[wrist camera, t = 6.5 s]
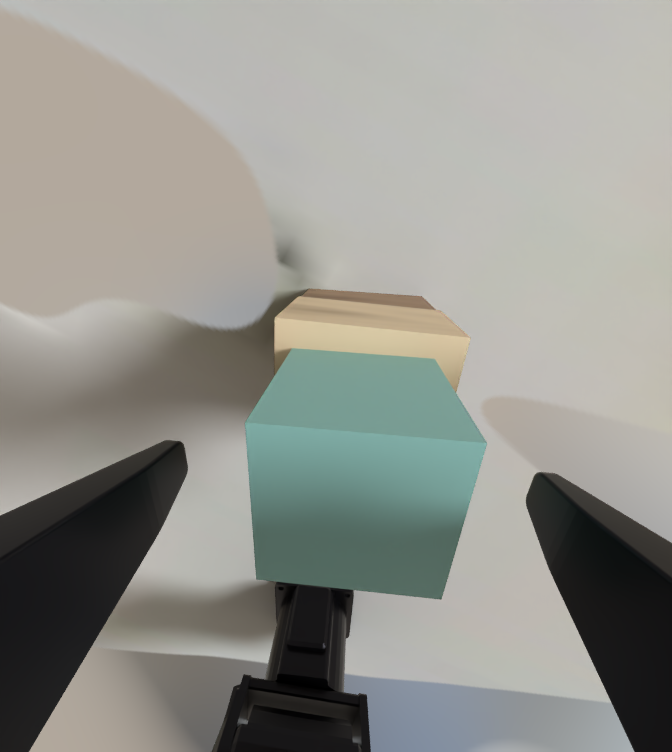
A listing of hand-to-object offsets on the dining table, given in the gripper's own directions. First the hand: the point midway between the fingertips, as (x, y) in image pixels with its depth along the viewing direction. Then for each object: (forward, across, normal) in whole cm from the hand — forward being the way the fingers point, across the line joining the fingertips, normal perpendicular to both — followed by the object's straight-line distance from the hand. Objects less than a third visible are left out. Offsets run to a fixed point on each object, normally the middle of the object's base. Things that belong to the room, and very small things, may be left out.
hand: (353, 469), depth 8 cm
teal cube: (+3, 0, 0) cm, 3 cm away
